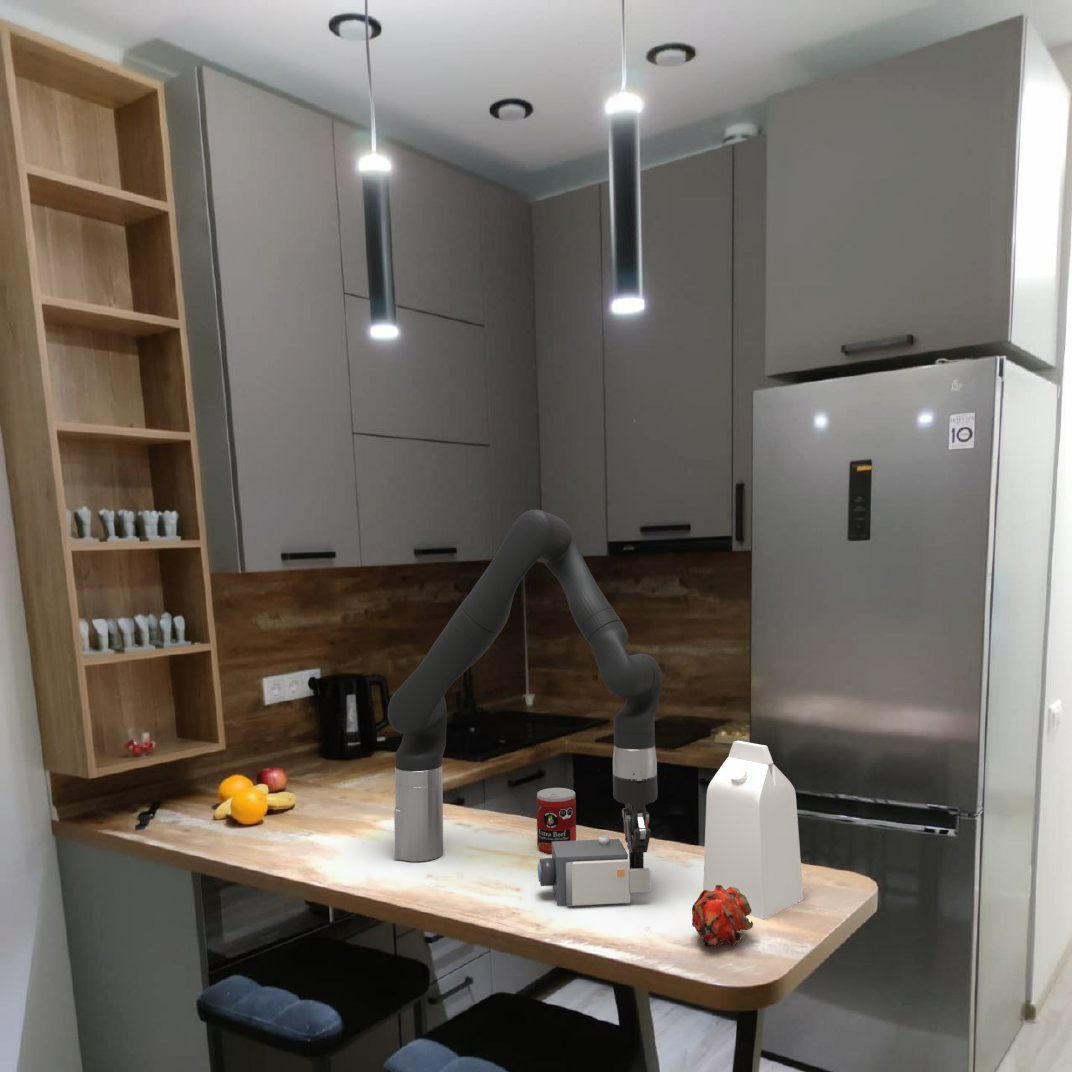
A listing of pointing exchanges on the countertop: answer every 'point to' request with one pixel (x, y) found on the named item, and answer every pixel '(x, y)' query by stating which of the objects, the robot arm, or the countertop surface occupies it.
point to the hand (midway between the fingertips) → (636, 873)
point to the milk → (753, 831)
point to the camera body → (575, 860)
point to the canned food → (555, 817)
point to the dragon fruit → (721, 915)
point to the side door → (604, 882)
